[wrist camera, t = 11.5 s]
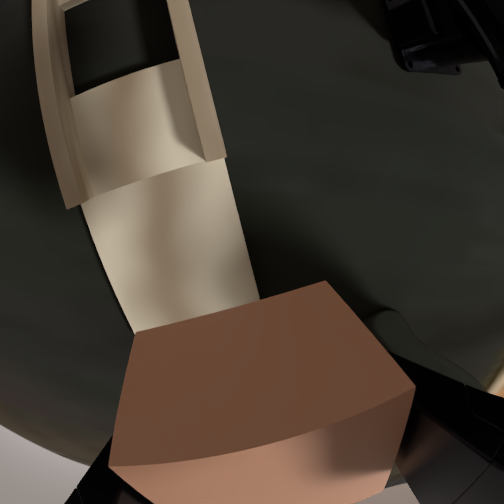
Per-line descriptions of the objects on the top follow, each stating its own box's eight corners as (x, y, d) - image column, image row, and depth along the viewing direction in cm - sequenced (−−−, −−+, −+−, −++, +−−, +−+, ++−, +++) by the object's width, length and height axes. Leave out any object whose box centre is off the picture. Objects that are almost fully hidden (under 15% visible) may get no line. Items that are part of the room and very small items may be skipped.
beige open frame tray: (166, -71, 10) (164, -95, 7) (260, 305, 20) (270, 330, 17) (50, -30, 9) (35, -47, 6) (142, 336, 20) (136, 364, 17)
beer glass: (323, 361, 23) (410, 514, 9) (374, 292, 22) (510, 427, 8) (374, 377, 25) (456, 495, 11) (419, 319, 24) (528, 424, 10)
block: (325, 280, 8) (415, 386, 4) (336, 401, 9) (382, 490, 6) (135, 331, 7) (108, 466, 3) (198, 439, 9) (208, 537, 5)
